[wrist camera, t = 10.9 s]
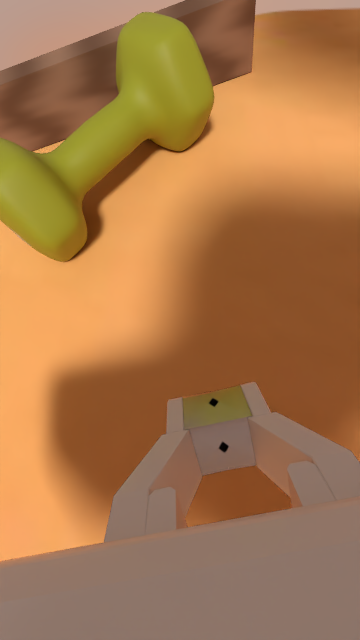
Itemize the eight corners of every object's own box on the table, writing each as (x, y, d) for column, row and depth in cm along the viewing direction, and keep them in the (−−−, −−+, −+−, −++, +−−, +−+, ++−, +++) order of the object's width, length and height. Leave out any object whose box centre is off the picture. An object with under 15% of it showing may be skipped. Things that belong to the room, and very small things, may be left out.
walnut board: (243, 60, 25) (246, -23, 20) (251, 71, 24) (256, -12, 20) (0, 148, 26) (-49, 89, 22) (0, 162, 25) (-51, 104, 21)
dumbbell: (157, 110, 25) (130, -6, 18) (226, 141, 22) (225, 16, 15) (16, 233, 22) (-77, 149, 15) (73, 287, 19) (-10, 213, 13)
